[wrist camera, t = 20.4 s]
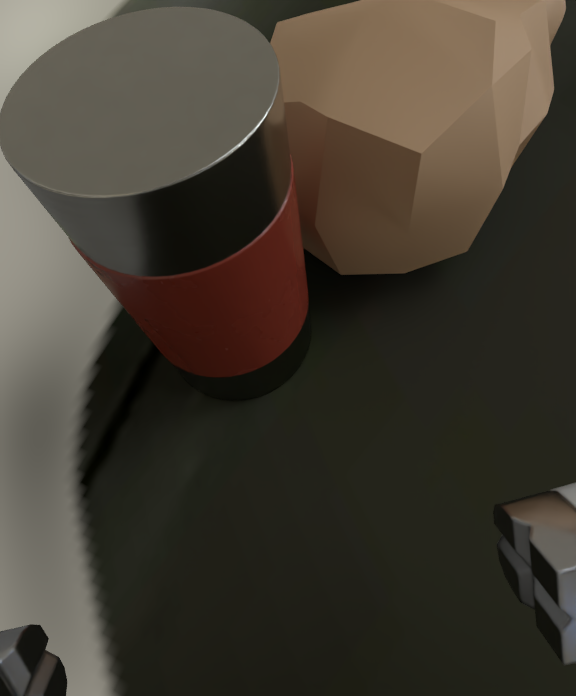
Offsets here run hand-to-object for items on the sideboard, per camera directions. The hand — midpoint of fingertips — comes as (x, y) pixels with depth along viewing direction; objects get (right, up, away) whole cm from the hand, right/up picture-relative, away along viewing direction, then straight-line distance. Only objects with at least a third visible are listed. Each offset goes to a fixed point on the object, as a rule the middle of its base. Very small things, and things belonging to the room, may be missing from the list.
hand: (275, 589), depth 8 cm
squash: (+7, +14, +15) cm, 22 cm away
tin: (-2, +5, +11) cm, 12 cm away
